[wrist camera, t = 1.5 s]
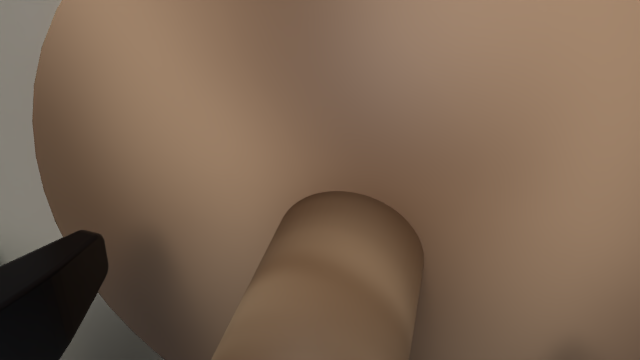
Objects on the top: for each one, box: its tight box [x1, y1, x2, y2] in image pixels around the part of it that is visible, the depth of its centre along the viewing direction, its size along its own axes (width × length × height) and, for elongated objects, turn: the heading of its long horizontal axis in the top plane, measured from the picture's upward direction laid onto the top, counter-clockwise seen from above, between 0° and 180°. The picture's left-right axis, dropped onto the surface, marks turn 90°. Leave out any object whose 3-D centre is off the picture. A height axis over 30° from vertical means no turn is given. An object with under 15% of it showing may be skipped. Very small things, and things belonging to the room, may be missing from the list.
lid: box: [32, 0, 640, 360], centre depth 10 cm, size 14×14×5 cm
